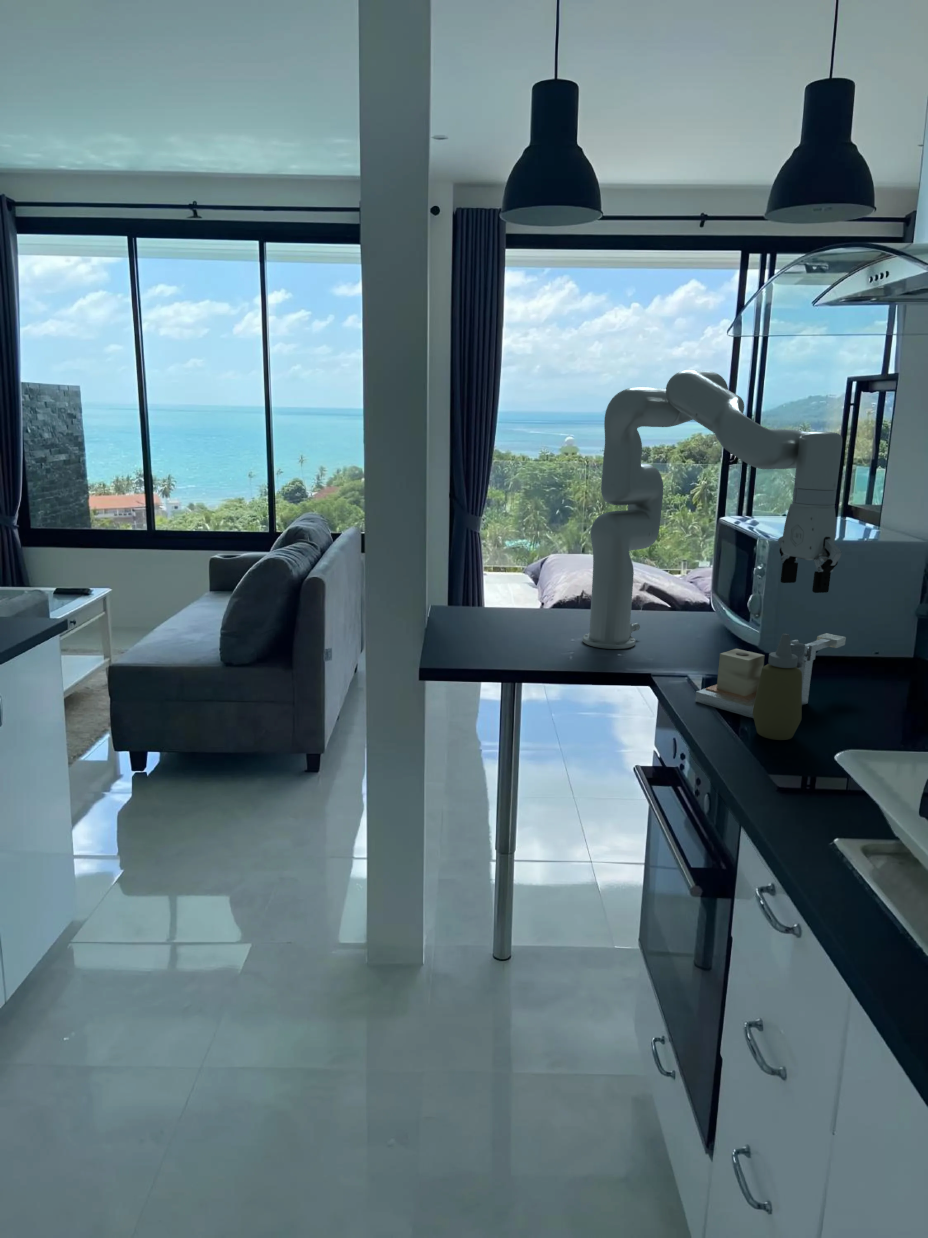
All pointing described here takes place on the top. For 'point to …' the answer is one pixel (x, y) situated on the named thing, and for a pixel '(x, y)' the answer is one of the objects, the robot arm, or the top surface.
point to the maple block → (739, 671)
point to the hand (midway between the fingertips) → (803, 587)
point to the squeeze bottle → (779, 694)
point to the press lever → (821, 642)
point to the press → (746, 703)
